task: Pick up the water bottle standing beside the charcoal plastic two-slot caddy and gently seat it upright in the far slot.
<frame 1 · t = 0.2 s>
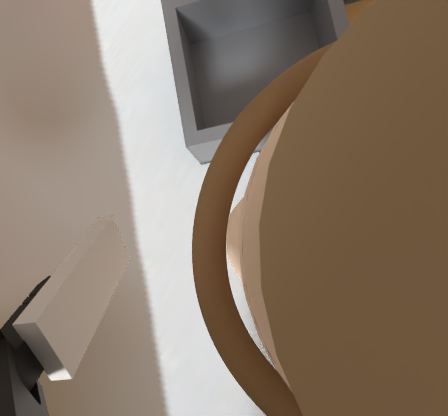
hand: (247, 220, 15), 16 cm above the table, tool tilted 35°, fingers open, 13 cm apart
bottle caddy: (328, 67, 31), on the table
water bottle: (300, 231, 30), on the table
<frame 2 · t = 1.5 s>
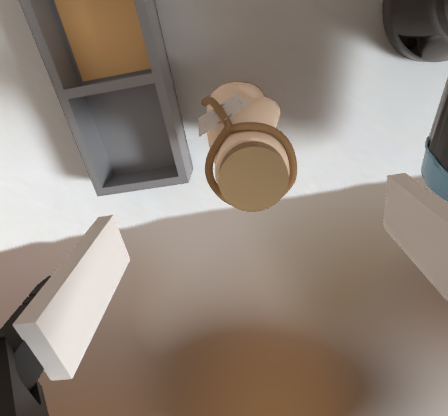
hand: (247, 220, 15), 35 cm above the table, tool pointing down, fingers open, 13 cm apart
bottle caddy: (123, 82, 44), on the table
water bottle: (237, 106, 45), on the table
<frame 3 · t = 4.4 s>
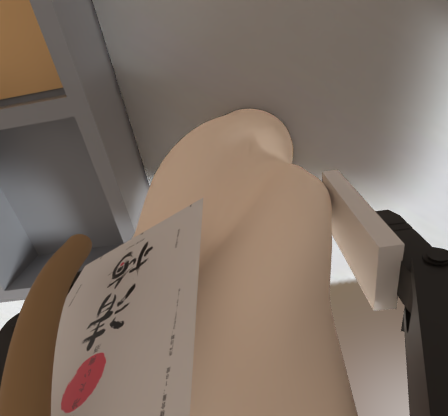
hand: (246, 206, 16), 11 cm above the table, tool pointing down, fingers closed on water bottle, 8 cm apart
bottle caddy: (37, 107, 25), on the table
water bottle: (240, 149, 26), on the table, touching gripper
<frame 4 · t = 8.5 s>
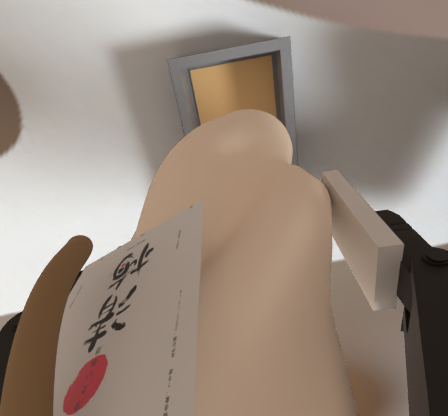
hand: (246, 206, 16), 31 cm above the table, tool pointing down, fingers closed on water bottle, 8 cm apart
bottle caddy: (243, 154, 47), on the table
water bottle: (240, 149, 26), point 20 cm above the table, touching gripper
when the fingers open (14 cm above the table, at t = 12.6 s): water bottle drops 2 cm, resting on bottle caddy.
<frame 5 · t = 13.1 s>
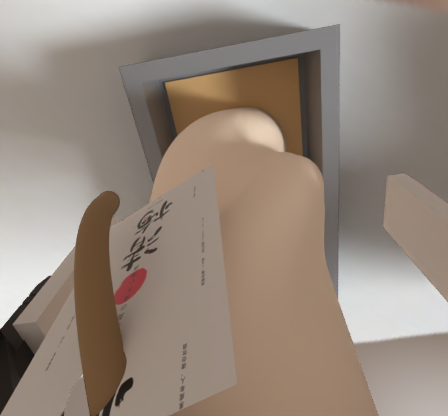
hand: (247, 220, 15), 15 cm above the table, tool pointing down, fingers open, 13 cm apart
bottle caddy: (249, 205, 31), on the table
water bottle: (237, 145, 27), point 1 cm above the table, touching bottle caddy
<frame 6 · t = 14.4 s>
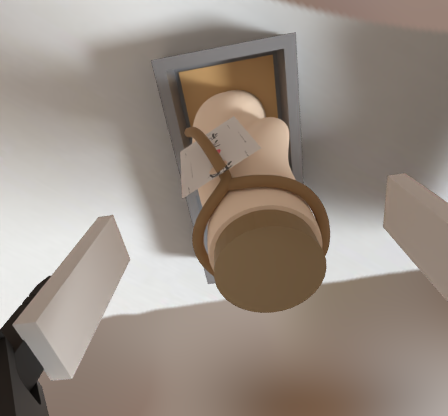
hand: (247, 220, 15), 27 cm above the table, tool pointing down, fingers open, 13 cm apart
bottle caddy: (240, 166, 41), on the table
water bottle: (230, 118, 37), point 1 cm above the table, touching bottle caddy
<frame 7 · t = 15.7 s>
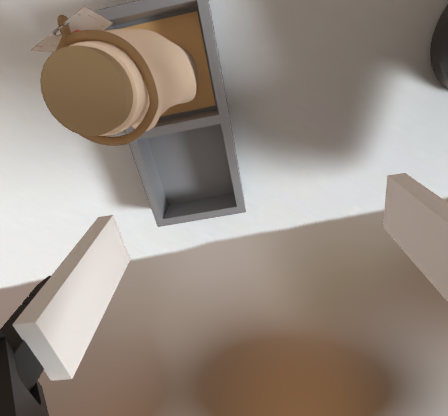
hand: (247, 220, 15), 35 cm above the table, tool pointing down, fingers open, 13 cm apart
bottle caddy: (182, 118, 46), on the table
water bottle: (167, 72, 42), point 1 cm above the table, touching bottle caddy
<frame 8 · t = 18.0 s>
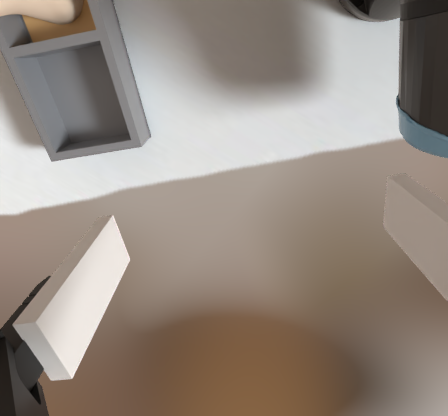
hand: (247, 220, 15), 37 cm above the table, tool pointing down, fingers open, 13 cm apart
bottle caddy: (75, 45, 44), on the table
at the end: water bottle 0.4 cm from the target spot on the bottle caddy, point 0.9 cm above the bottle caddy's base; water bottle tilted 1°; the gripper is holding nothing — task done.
